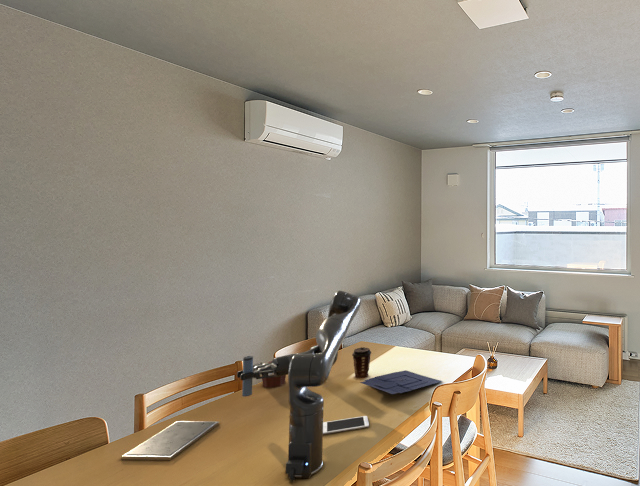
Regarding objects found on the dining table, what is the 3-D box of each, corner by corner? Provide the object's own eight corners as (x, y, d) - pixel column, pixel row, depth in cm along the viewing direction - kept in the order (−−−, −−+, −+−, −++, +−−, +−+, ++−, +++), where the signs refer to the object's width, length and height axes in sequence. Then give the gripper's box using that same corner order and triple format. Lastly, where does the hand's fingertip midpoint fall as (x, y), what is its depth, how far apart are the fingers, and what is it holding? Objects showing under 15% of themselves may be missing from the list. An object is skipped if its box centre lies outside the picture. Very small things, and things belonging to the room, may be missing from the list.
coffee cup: (364, 372, 193) (364, 345, 193) (374, 376, 188) (375, 349, 188) (348, 377, 186) (349, 349, 186) (359, 381, 181) (359, 353, 181)
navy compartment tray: (355, 388, 170) (356, 379, 171) (404, 375, 194) (405, 368, 195) (395, 402, 156) (396, 393, 157) (442, 387, 181) (443, 379, 181)
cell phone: (320, 424, 141) (320, 422, 141) (367, 417, 146) (367, 415, 146) (320, 435, 133) (320, 433, 133) (369, 427, 139) (369, 425, 139)
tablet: (170, 460, 118) (170, 456, 118) (121, 459, 118) (121, 455, 119) (218, 424, 140) (218, 421, 140) (177, 423, 140) (177, 420, 140)
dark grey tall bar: (248, 396, 145) (249, 358, 146) (240, 396, 145) (241, 358, 146) (253, 393, 148) (254, 355, 149) (245, 393, 149) (246, 355, 149)
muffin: (289, 377, 185) (289, 356, 185) (287, 386, 174) (288, 364, 175) (261, 381, 180) (261, 359, 181) (257, 390, 170) (257, 367, 170)
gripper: (279, 351, 163) (233, 361, 150) (294, 359, 153) (245, 370, 140) (279, 370, 162) (232, 381, 150) (294, 378, 153) (245, 391, 140)
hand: (239, 376), depth 145 cm, fingers closed on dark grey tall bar, 3 cm apart
